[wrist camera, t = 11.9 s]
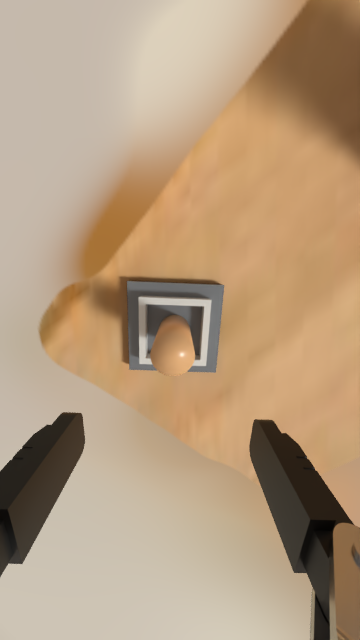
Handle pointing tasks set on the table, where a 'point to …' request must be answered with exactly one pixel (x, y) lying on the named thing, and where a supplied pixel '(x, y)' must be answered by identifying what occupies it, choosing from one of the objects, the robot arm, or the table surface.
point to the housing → (174, 299)
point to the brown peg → (173, 347)
